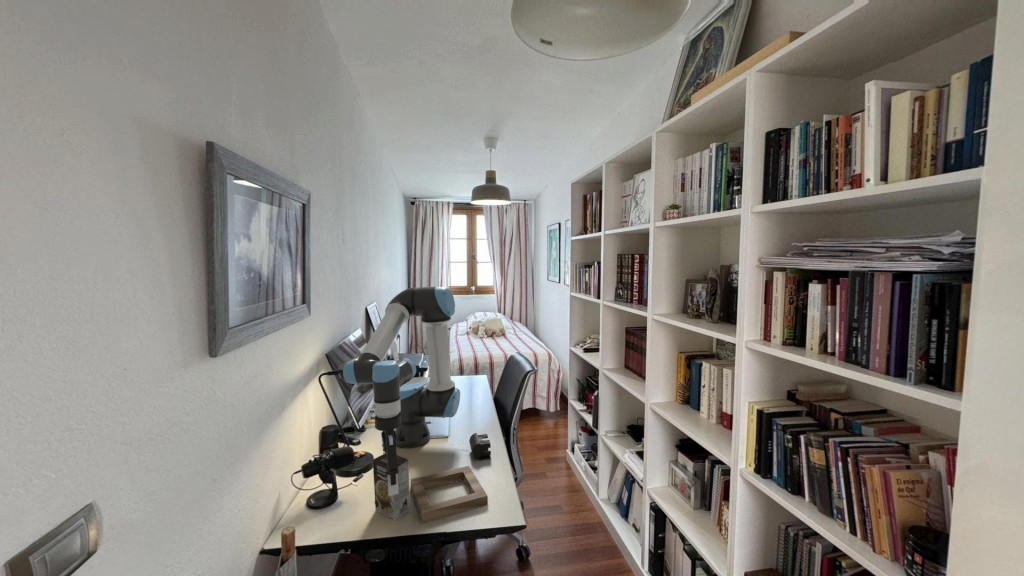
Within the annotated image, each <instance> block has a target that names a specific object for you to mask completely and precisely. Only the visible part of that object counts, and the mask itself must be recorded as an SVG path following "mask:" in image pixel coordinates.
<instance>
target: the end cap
mask: <svg viewBox="0 0 1024 576" xmlns="http://www.w3.org/2000/svg"><path fill="white" fill-rule="evenodd" d="M488 438H489V435H488V434H487V433H486V434H484V433H483V434H478V432H475V433H473V434H472V435H470V437H469V440H468V441H469V446H470V450H471V455H472V456H473V458H475V460H476V459H477V460H478V461H485V460H491V459H492V457H491V455H492V451H491V450H489V449H491V446H492V444H491V440H490V439H488Z"/></svg>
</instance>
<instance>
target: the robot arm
mask: <svg viewBox="0 0 1024 576" xmlns="http://www.w3.org/2000/svg"><path fill="white" fill-rule="evenodd" d="M455 310H456V302H455V298H454V295H453V292H452V290H451V289H450V288H449V287H446V286H420V287H419V286H418V287H417V286H414V287H413V286H412V287H409V288H406V289H404V290H402V291H401V292H399V293H397V294H396V295H395V296H394V297H393V298H392V299H391V300H390V301H389V302H388V304H387V306H386V307H385V309H384V312H385V313H384V316H383V317H382V318H381V321H380V322H379V324H378V326H377V327H376V329H375V330H374V332H373V334H372V335H371V336H370V339H369V340H368V342H367V344H366V345H365V347H364V348H363V350H362V351H361V354H360V355H359V356H358V358H357V359H353V360H349V361H347V362H346V363H345V365H344V366H343V370H342V375H343V378H344V381H345V382H346V383H347V384H353V385H372V388H373V389H372V391H373V404H372V405H371V408H372V409H373V410H374V428H375V429H376V430H377V431H381V432H380V435H381V442H382V445H381V447H382V451H383V453H382V455H383V454H387V465H388V472H386V475H388V494H389V496H392V495H396V494H399V491H398V472H399V470H398V464H397V455H398V453H397V447H398V448H404V449H406V448H407V449H408V448H415V447H420V446H422V445H424V444H426V443H428V442H429V441H430V440H431V431H430V429H429V427H428V424H427V421H426V418H442V419H446V418H453V417H455V415H457V413H458V411H459V406H460V401H461V391H460V389H459V388H458V387H456V384H455V382H454V381H453V380H452V377H451V363H450V349H449V348H450V345H449V331H448V329H449V328H448V324H449V322H450V321H451V320H452V318H451V317H452V316H454V315H455V312H456V311H455ZM411 317H420V319H421V323H423V324H424V325H425V332H426V333H425V335H426V349H427V361H428V362H427V363H428V377H429V382H428V383H427V384H426V385H425V384H424V383H421V382H414V383H409V382H410V381H411V380H412V379H413V378H414V377H415V376H416V373H417V367H416V363H415V362H414V361H413V360H412V359H411V358H407V357H403V358H400V359H398V360H392V359H391V360H389V359H388V360H385V358H386V356H387V354H388V352H389V351H390V348H391V346H392V345H393V343H394V341H395V339H396V338H397V335H398V334H399V332H400V330H401V328H402V326H403V325H404V323H406V322H408V321H409V319H410V318H411ZM407 383H409V384H407ZM425 386H426V387H425Z"/></svg>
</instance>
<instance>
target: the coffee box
mask: <svg viewBox="0 0 1024 576" xmlns="http://www.w3.org/2000/svg"><path fill="white" fill-rule="evenodd" d="M397 464H398V470H399V472H398V491H399V494H396V495H392V496H389V494H388V475H386V472H388V465H387V454H383V453H382V454H381V455H379V456H377V457H375V458H373V459H372V468H373V470H372V471H373V472H372V473H373V485H374V487H373V488H374V489H373V490H374V504H375V505H374V507H375V508H374V509H375V511H376V512H378V513H380V514H382V515H384V516H386V517H387V518H389V519H391V520H394V521H396V519H398V518H400V517H401V516H403V515H404V514H406V513H408V512H409V511H410V510H411V502H410V501H411V498H410V476H409V475H410V474H409V473H410V472H409V471H410V470H409V458H407V457H404V456H401V455H399V454H397Z"/></svg>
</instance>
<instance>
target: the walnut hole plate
mask: <svg viewBox="0 0 1024 576" xmlns="http://www.w3.org/2000/svg"><path fill="white" fill-rule="evenodd" d="M461 480H462V481H463V483H464V485H465V486H466V488H467V490H468V491H469V493H470V494H466V495H463V496H462V495H461V496H457V497H454V498H450V499H446V500H442V501H439V502H435V503H432V504H431V503H430V501H429V498H428V495H427V492H426V490H428V489H432V487H433V488H436V487H440V485H441V486H444V484H445V485H449V484H452V483H451V482H454V483H457V482H456V481H458V482H462V481H461ZM448 483H449V484H448ZM410 487H411V492H412V495H413V497H414V501H415V504H416V507H417V511H418V514H419V517H420V521H421V524H424V523H427V522H428V523H429V522H431V521H434V520H438V519H441V518H446V517H449V516H453V515H456V514H460V513H464V512H468V511H472V510H475V509H478V508H482V507H486V506H488V505H489V499H488V493H487V492H486V490H485V489H484V488H483V486H482V484H481V483H480V481H479V480H478V478H477V476H476V475H475V474H474V472H473V470H472V469H471V467H470V465H465V466H461V467H457V468H454V469H453V468H452V469H448V470H445V471H440V472H436V473H432V474H427V475H423V476H418V477H414V478H411V479H410Z"/></svg>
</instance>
